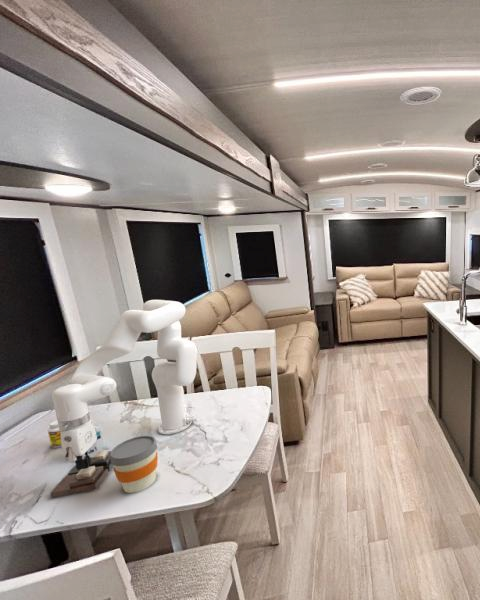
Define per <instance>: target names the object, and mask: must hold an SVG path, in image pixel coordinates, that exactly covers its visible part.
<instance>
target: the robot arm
mask: <svg viewBox="0 0 480 600" xmlns="http://www.w3.org/2000/svg"><path fill="white" fill-rule="evenodd" d="M186 310H187V309H186V307H185V305H184V304H183V303H182V302H180V301H175V300H165V299H150V300H147V301H145V302H144V303H143V305H142V310H141V309H128V310H126V311H124V312H122V313H121V314H120V316H119V318H118V319H117V321H116V322H115V324H114V326H113V328H112V329H111V331H110V333H109V334H108V336H107V338H106V339H105V341H104V343H103V344H102V345H101V346H100V347H98V348H97V349H96V350H94V351H92V352H91V353H90V354H89V355H88V356H86V357H85V358H84V359H83V360H82V361H81V362H80V363H79V365H78V366H77V367H76V369H75V370H74V372H73V374H72V376H71V377H70V379H69V383H68V384H66V385H62V386H59V387H58V388H56V389H54V390H53V391H52V394H51V397H52V403H53V407H54V412H55V416H56V420H57V421H58V426H59V430H61V451H62V455H63V457H64V459H68V463H74V464H75V465H76V468H77V470H80V469H86V468H88V467H89V466H90V465H91V461H90V456H89V454H90V449H89V448H90V447H91V446H92V445H93V444H94V443H95V442H96V440H97V435H96V431H95V427H94V425H95V424H94V421H93V419H92V418H91V414H90V410H89V409H90V408H89V404H88V403H91V402H94V401H98V400H101V399H104V398H106V397H108V396H110V395H112V394H113V393H114V391H116V389H117V381H116V380H115V379H114V378H112V377H109V376H103V375H99V373H100V372H101V370H102V369H103V368H104V367H105V366H106V365H107V364H108V363H110V362H112V361H113V360H116V359H119V358H122V357H124V356H126V355H128V354H130V353H131V352H132V350H133V349H134V347H135V345H136V343H137V341H138V340H139V337H140V336H141V334H142V333H146V334H148V333H149V334H150V333H156V332H157V340H156V341H157V342H156V343H157V344H156V353H157V356H158V357H159V358H160V359H163V360H167V361H161V362H159V363H157V364H156V365H155V366H154V367H153V369H152V372H151V380H152V382H153V385H154V386H155V390H156V395H157V399H158V400H157V401H158V406H159V413H160V420H161V424H160V425H159V426H158V429H157V431H158V433H159V434H161V435H173V434H177V433H180V432H182V431H184V430H186V429H188V428H189V427H191V425H192V423H193V422H198V420H199V417H198V416H197V415H196V414H193V415H190V412H187V405H186V398H185V390H184V387H186V386H189V385H190V384H192V383H193V382H194V380H195V379H196V375H197V364H198V348H197V345H196V343H195V342H194V341H193V340H190V339H186V338H185V339H184V338H182V324H181V320H182V319H183V318H184V317H185V315H186V312H187V311H186ZM169 360H170V361H169Z"/></svg>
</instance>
